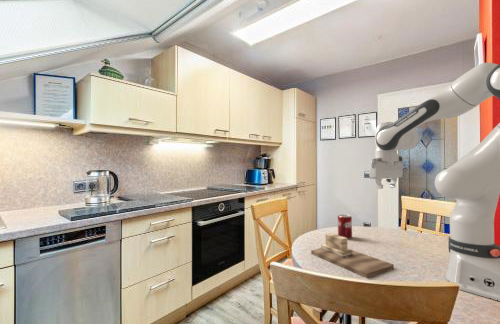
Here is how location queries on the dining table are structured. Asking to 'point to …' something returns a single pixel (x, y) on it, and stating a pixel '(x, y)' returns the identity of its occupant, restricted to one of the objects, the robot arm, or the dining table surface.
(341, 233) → the soda can
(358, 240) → the dining table surface
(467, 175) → the robot arm
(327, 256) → the board
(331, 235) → the sanding block
